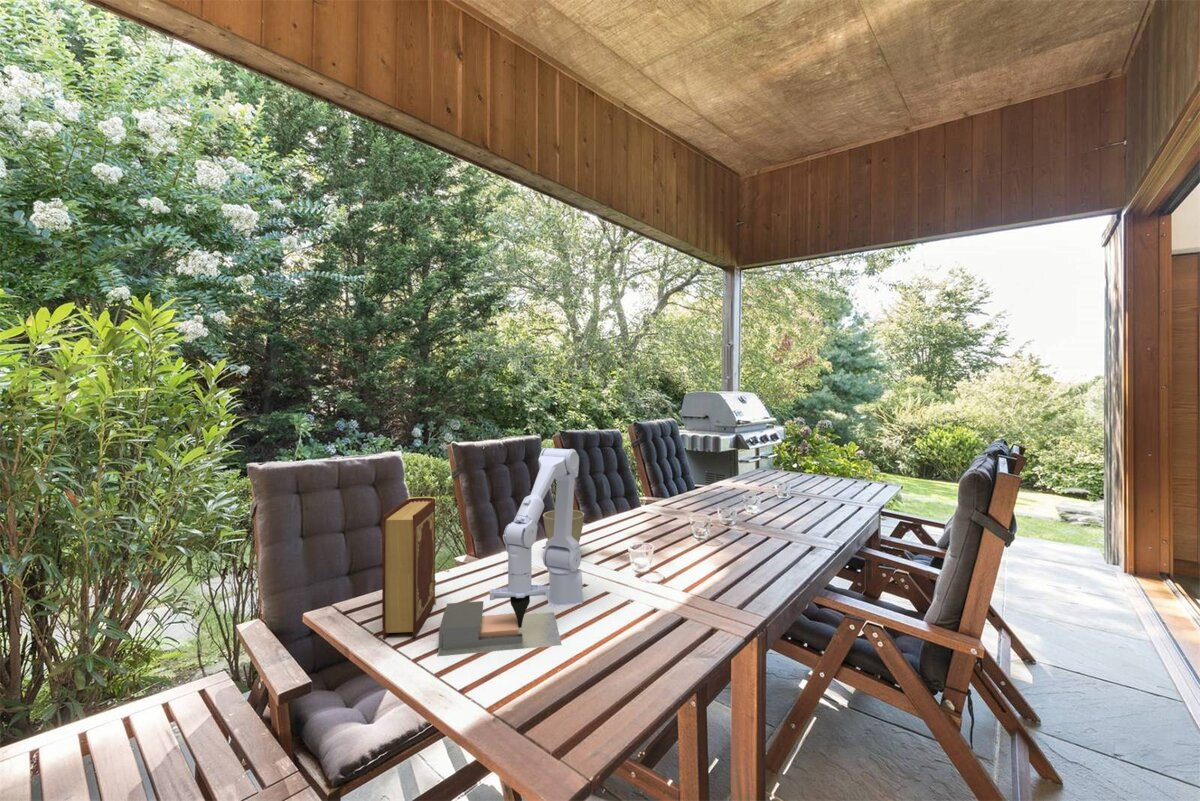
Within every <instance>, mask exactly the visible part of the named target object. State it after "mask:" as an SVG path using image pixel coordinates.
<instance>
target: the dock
mask: <svg viewBox="0 0 1200 801" xmlns="http://www.w3.org/2000/svg"><path fill="white" fill-rule="evenodd" d="M483 611H484V600H481V601H480V600H479V601H467V602H466V601H465V602H451V603H450V602H449V603H446V607H445V610H444V611H443V615H442V618H441V621H440V622H441V623H440V626H439V630H438V651H437V653H436V657H446V656H457V655H469V654H479V653H480V654H482V653H492V652H500V651H501V652H502V651H512V650H514V651H515V650H524V649H525V650H526V649H536V648H545V647H557V646H562V641H561V637H560V636H561V635H560V632H559V627H558V623H557V619H556V615H555V612H554V611H553V612H552V611H551V612H539V613H525V614H524V617H523V621H522V627H521V628H519V627H518V634H515V635H503V636H492V637H480V638H479V631H481V625H482V616H483V613H484V612H483ZM513 614H515V612H514V613H513ZM490 615H491V614H490ZM490 615H487V616H490ZM500 615H502V614H500ZM517 622H518V620H517Z"/></svg>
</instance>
